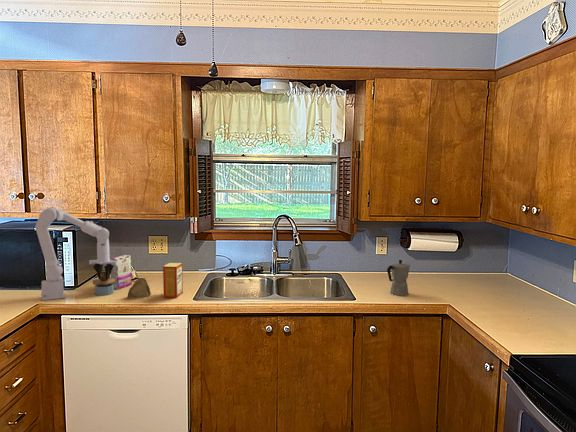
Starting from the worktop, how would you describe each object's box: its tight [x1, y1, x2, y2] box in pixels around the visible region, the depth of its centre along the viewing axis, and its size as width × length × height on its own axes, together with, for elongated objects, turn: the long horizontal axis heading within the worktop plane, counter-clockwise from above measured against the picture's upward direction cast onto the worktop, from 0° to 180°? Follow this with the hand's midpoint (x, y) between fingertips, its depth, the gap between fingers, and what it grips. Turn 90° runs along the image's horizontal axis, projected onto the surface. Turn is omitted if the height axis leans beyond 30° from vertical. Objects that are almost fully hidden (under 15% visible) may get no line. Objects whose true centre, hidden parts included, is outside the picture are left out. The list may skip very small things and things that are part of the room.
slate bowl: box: [94, 284, 115, 297], centre depth 212 cm, size 9×9×4 cm
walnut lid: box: [92, 270, 115, 286], centre depth 212 cm, size 10×10×6 cm
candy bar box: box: [110, 254, 133, 290], centre depth 225 cm, size 11×5×16 cm, turn 161°
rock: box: [126, 277, 152, 299], centre depth 208 cm, size 11×9×10 cm
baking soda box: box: [162, 262, 184, 299], centre depth 210 cm, size 10×6×16 cm
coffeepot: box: [386, 259, 411, 297], centre depth 216 cm, size 15×9×18 cm, turn 119°
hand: (104, 278), depth 212 cm, fingers closed on walnut lid, 3 cm apart
